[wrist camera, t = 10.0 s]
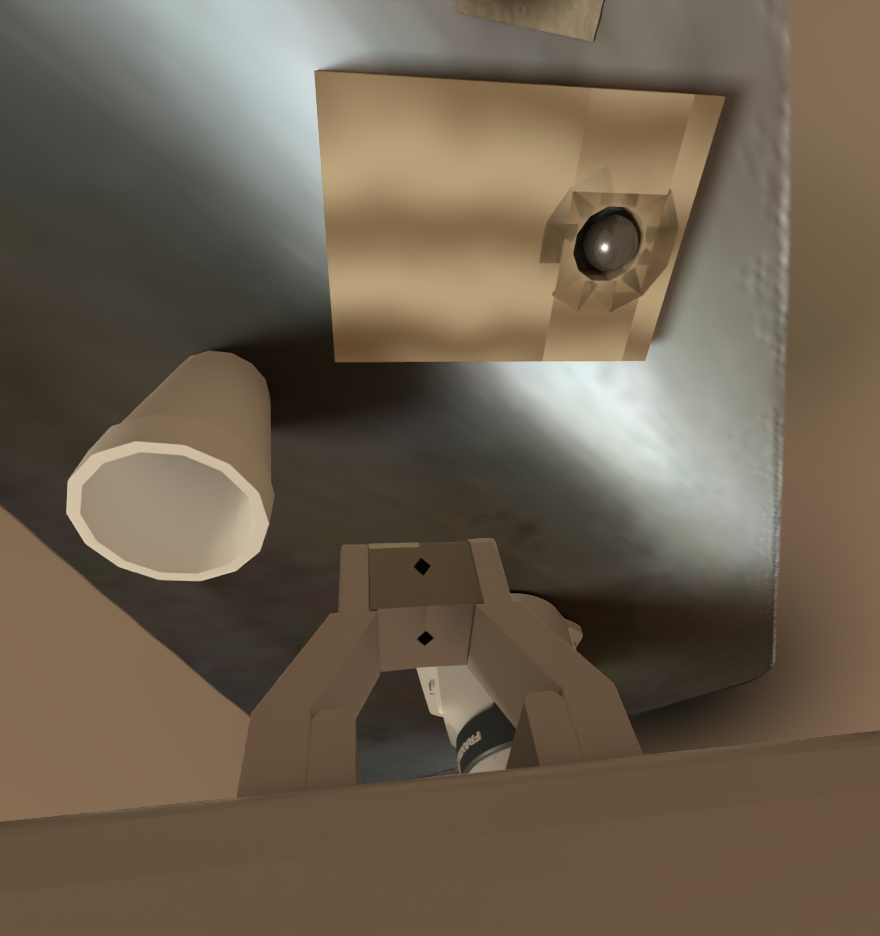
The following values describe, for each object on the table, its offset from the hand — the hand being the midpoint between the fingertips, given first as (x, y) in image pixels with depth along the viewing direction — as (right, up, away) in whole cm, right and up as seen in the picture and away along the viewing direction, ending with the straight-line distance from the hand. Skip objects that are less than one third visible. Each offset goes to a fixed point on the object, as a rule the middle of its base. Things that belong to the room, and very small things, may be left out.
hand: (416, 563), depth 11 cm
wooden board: (+4, +16, +22) cm, 28 cm away
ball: (+11, +16, +22) cm, 29 cm away
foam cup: (-15, +7, +27) cm, 31 cm away
